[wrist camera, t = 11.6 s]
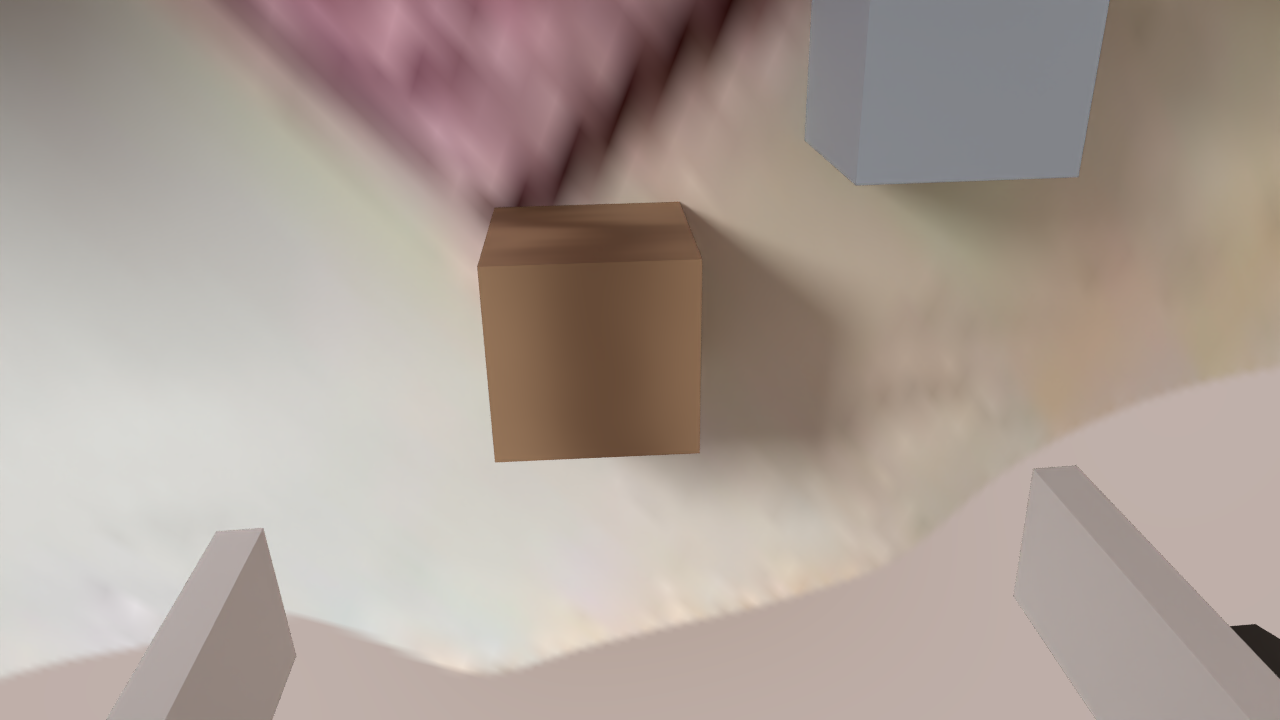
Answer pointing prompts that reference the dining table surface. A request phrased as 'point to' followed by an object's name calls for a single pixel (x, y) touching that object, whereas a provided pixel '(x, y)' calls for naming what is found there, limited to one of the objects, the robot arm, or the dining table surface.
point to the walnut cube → (592, 331)
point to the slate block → (952, 87)
